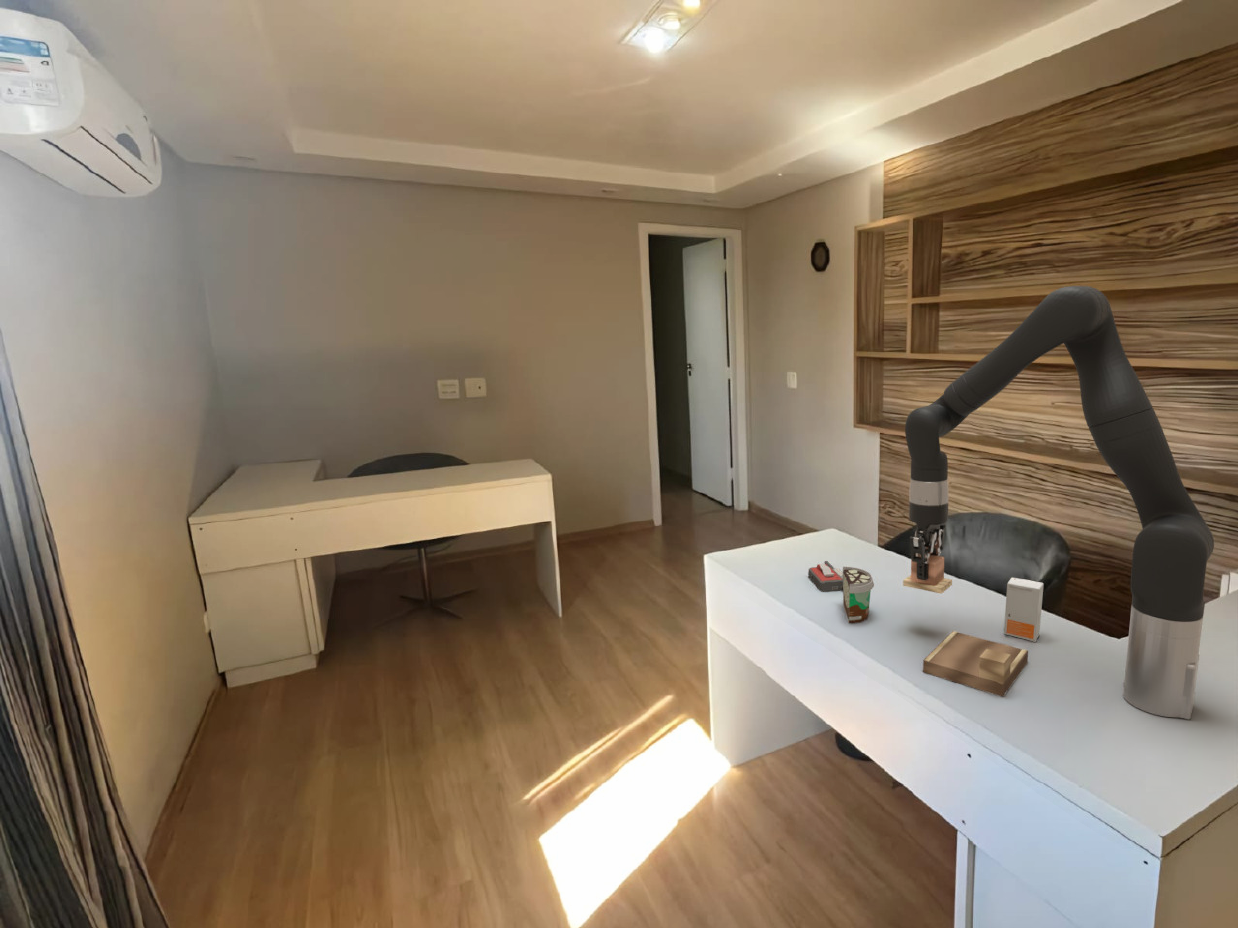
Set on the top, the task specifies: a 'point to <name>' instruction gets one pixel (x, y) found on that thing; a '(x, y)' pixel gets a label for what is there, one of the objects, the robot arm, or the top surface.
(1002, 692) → the dock
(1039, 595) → the skincare box
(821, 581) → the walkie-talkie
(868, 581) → the food container
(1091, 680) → the top surface
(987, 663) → the light brown wooden cube
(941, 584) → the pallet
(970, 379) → the robot arm
